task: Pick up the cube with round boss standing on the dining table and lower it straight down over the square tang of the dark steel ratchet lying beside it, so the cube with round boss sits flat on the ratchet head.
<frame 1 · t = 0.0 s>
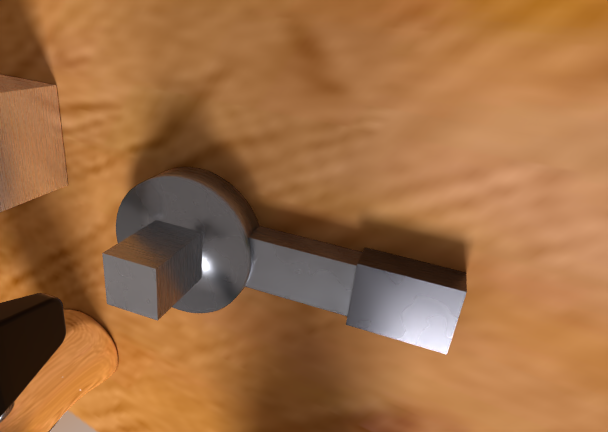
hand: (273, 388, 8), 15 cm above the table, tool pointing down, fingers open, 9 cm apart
ratchet: (198, 234, 26), on the table
beer glass: (85, 342, 33), on the table
cube with round boss: (21, 128, 27), on the table
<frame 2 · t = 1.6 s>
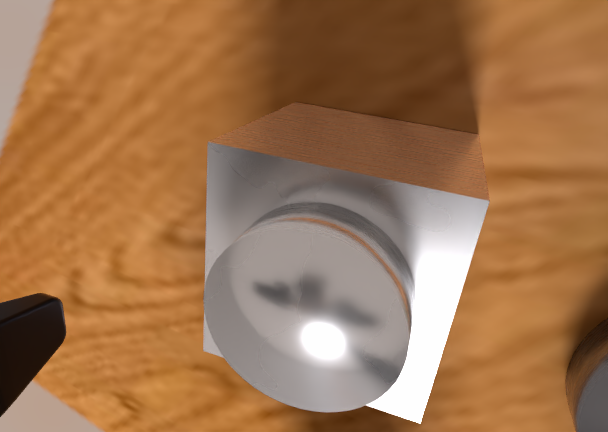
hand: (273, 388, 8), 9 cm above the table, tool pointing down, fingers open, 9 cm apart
cube with round boss: (366, 202, 16), on the table
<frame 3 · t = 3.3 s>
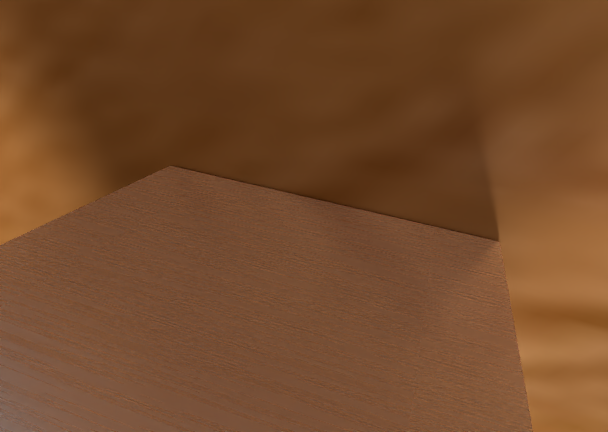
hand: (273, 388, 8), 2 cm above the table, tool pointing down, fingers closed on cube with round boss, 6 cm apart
cube with round boss: (300, 335, 9), on the table, touching gripper
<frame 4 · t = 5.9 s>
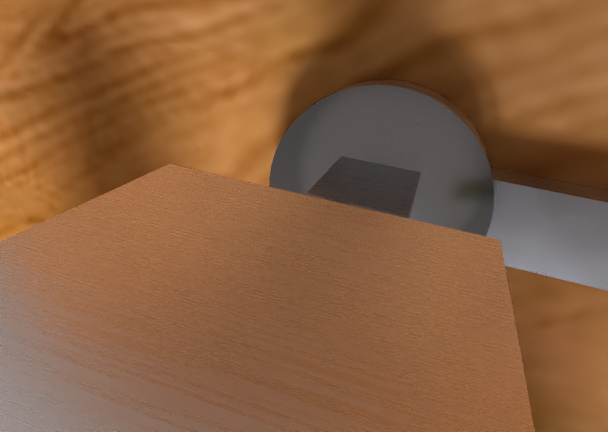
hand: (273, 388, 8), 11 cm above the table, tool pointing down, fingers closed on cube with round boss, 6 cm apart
ratchet: (381, 183, 18), on the table
cube with round boss: (300, 334, 9), point 10 cm above the table, touching gripper
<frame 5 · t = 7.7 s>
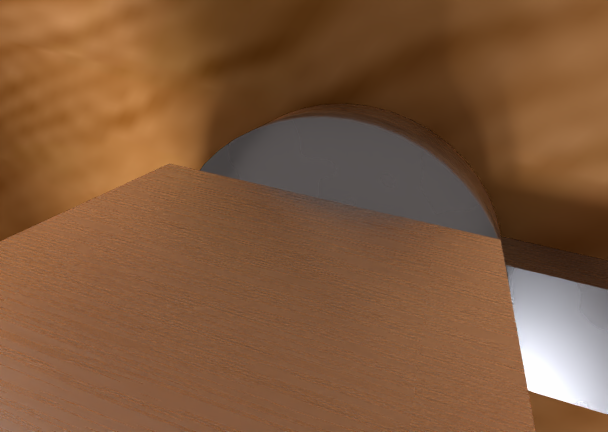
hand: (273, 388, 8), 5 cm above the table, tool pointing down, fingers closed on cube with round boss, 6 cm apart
ratchet: (342, 252, 12), on the table
cube with round boss: (300, 334, 9), point 4 cm above the table, touching gripper
when the fingers open (4 cm above the table, at t = 8.9 s): cube with round boss stays where it is, resting on ratchet.
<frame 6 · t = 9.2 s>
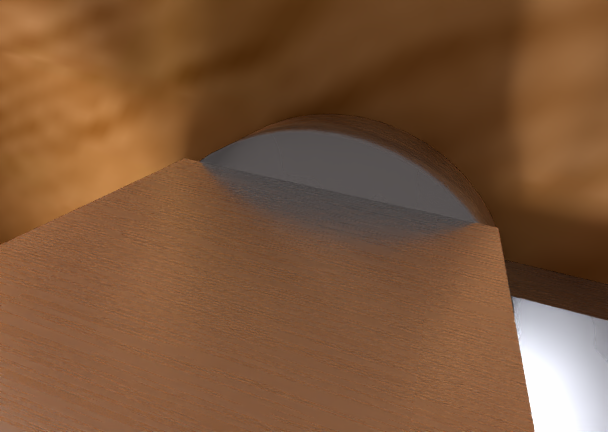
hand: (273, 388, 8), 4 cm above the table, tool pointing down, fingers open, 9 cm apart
ratchet: (332, 274, 11), on the table, touching cube with round boss
cube with round boss: (309, 320, 9), point 2 cm above the table, touching ratchet
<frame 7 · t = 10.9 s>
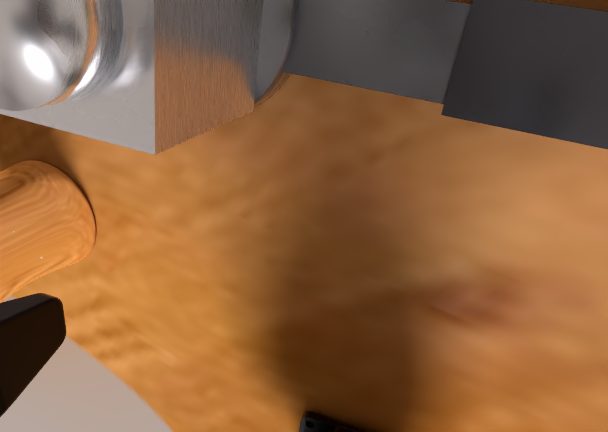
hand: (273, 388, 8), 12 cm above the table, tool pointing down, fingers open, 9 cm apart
ratchet: (210, 10, 17), on the table, touching cube with round boss
beer glass: (53, 211, 25), on the table
cube with round boss: (183, 9, 16), point 2 cm above the table, touching ratchet
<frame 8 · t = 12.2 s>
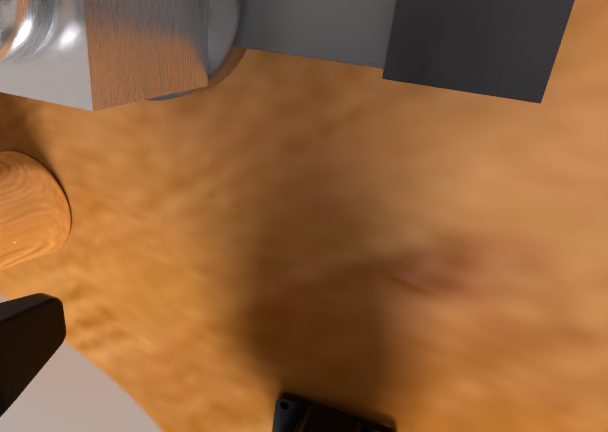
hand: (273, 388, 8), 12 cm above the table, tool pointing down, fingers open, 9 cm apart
beer glass: (31, 201, 25), on the table
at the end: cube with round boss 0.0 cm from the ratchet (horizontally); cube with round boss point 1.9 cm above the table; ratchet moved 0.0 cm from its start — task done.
